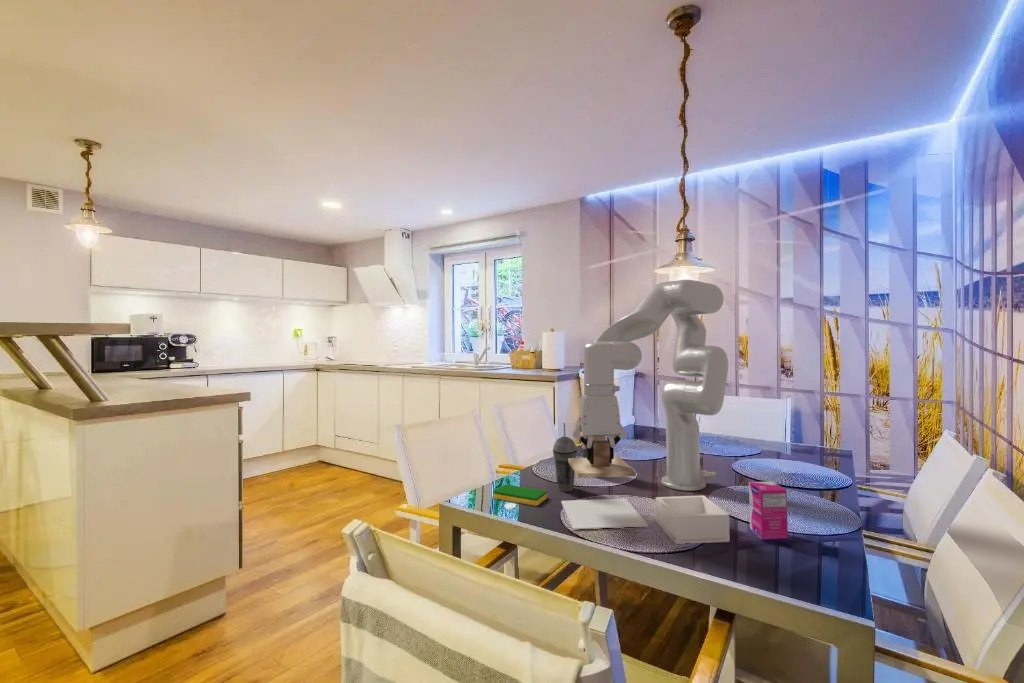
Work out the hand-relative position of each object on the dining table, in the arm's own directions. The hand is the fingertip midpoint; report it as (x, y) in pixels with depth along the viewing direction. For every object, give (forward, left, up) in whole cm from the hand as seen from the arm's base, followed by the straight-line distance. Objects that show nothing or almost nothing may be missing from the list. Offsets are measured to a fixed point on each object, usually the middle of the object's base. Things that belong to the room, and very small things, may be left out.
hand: (599, 461), depth 117 cm
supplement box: (-34, +16, -14) cm, 40 cm away
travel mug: (-6, -34, -14) cm, 37 cm away
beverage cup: (+6, -20, -14) cm, 25 cm away
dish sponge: (+20, -14, -14) cm, 28 cm away
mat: (0, 0, -14) cm, 14 cm away
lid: (0, 0, -2) cm, 2 cm away
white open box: (-18, +12, -14) cm, 26 cm away
